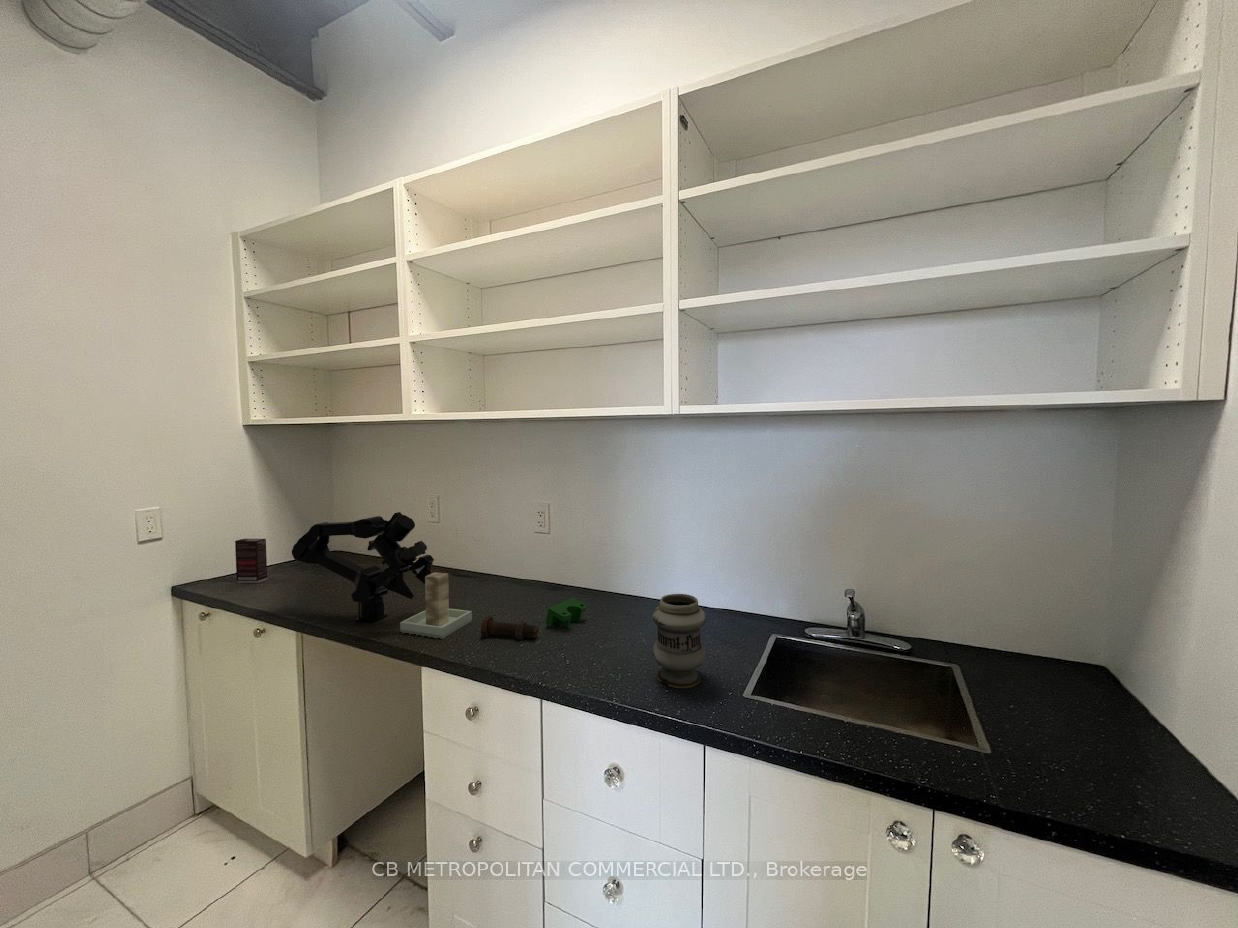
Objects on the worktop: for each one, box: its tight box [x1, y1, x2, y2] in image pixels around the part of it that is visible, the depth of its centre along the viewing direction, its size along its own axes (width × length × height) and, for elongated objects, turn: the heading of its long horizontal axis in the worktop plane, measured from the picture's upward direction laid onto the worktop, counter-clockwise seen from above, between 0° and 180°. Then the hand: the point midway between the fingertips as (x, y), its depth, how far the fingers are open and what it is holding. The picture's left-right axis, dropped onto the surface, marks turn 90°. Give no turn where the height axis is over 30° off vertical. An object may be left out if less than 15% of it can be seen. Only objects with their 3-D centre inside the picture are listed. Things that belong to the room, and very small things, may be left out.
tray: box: [399, 608, 473, 640], centre depth 139 cm, size 14×14×3 cm
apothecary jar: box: [651, 593, 707, 689], centre depth 110 cm, size 12×12×18 cm
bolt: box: [480, 615, 540, 641], centre depth 132 cm, size 6×5×15 cm
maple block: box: [424, 572, 450, 626], centre depth 139 cm, size 4×4×14 cm
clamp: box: [545, 597, 588, 629], centre depth 142 cm, size 12×6×9 cm, turn 141°
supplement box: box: [234, 538, 268, 584], centre depth 183 cm, size 9×5×16 cm, turn 88°
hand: (423, 592), depth 140 cm, fingers open, 9 cm apart
